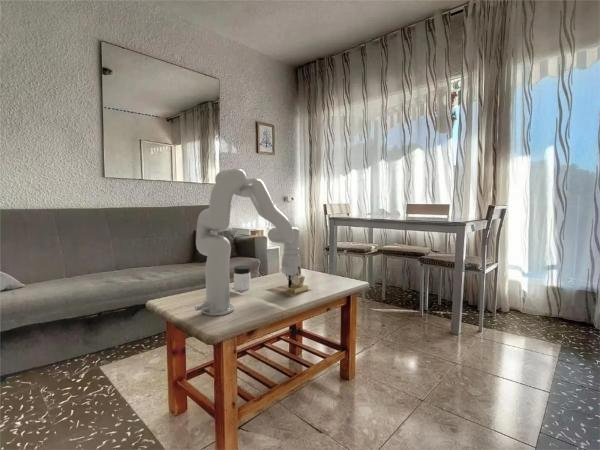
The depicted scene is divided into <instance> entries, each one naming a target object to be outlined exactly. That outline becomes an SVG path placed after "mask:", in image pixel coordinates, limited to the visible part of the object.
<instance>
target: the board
mask: <svg viewBox="0 0 600 450" xmlns="http://www.w3.org/2000/svg"><path fill="white" fill-rule="evenodd" d="M265 291H267V292H269V293H273V294H276V295H278V296H282V297H285V298H291V297H295V296H298V295H301V294H304V293H307V292H310V291H313V289H311V288H308V291H304V292H301V293H297V294H292V293H289V288H288V283H287V284H283V285H279V286H276V287H272V288H271V287H270V288H268V289H265Z"/></svg>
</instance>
